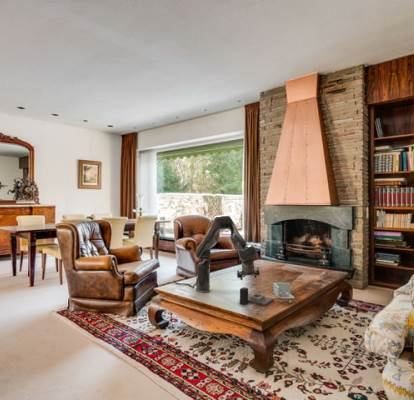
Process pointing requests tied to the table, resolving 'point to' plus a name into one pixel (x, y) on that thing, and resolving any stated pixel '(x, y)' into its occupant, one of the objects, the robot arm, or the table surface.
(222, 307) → the table surface
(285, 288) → the l-shaped corner panel
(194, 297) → the table surface
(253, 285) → the table surface
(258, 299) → the base pad
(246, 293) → the pad block
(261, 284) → the table surface
